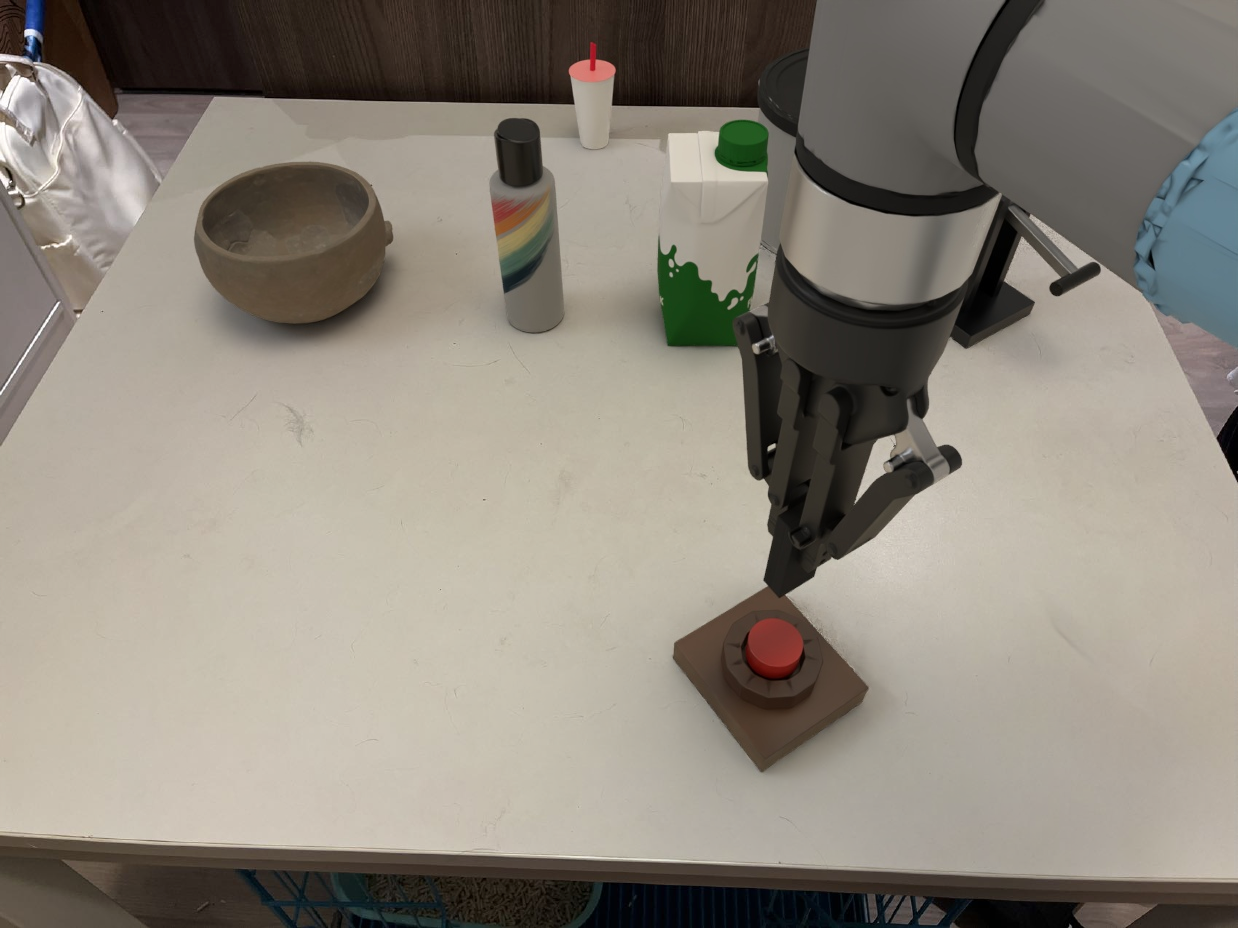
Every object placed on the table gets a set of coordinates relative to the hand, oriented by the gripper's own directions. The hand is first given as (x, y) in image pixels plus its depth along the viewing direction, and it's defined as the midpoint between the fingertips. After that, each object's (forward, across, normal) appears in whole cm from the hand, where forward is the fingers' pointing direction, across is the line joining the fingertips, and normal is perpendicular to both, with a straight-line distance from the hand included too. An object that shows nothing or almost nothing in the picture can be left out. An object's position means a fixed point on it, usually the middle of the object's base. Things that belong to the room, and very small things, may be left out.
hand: (788, 578), depth 53 cm
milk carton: (+13, +33, -19) cm, 40 cm away
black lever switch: (+13, +21, -42) cm, 49 cm away
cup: (+14, +67, -28) cm, 74 cm away
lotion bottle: (+13, +43, -6) cm, 45 cm away
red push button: (+9, 0, 0) cm, 9 cm away
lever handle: (+3, +17, -42) cm, 45 cm away
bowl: (+13, +59, +11) cm, 61 cm away
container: (+13, +39, -41) cm, 58 cm away
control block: (+13, 0, 0) cm, 13 cm away
